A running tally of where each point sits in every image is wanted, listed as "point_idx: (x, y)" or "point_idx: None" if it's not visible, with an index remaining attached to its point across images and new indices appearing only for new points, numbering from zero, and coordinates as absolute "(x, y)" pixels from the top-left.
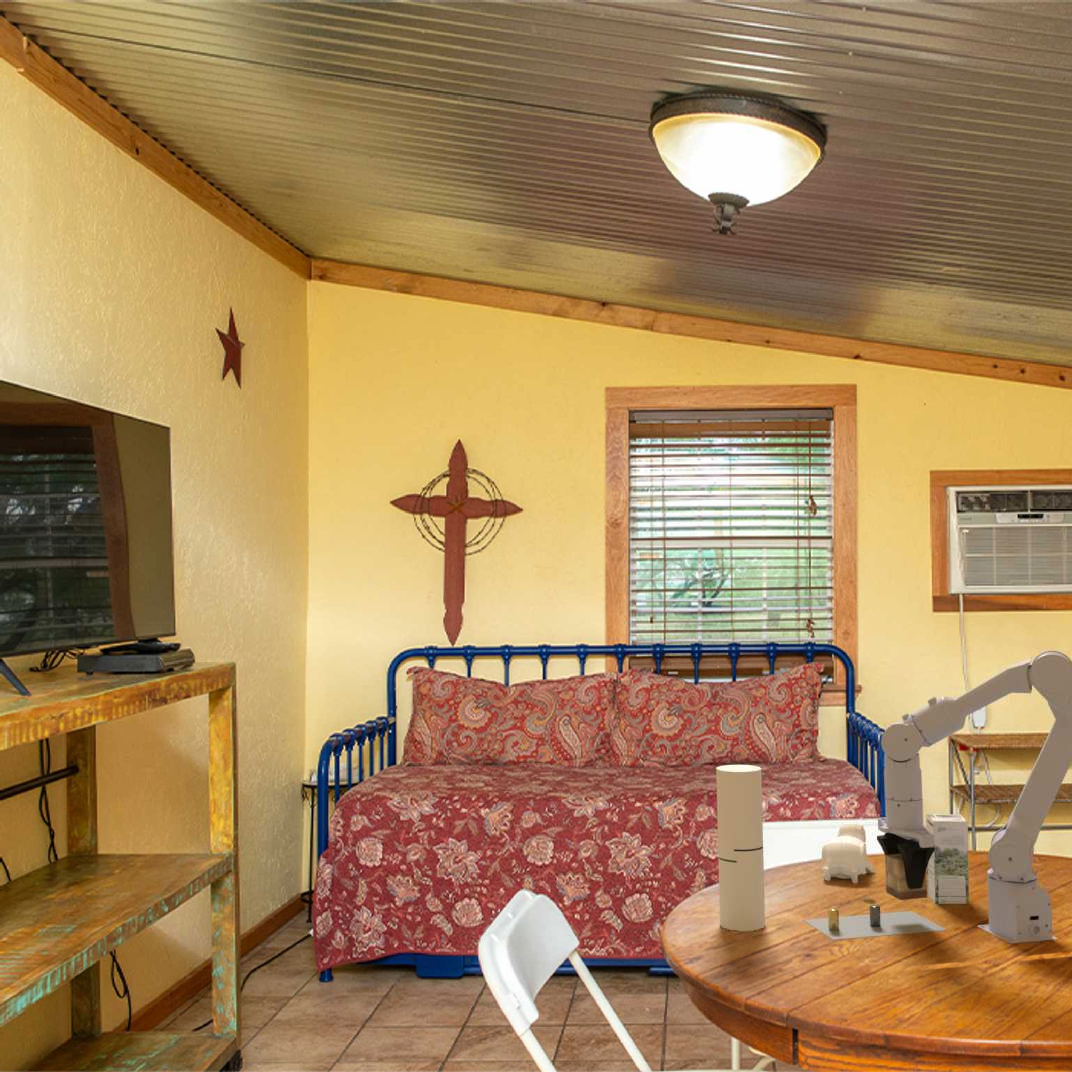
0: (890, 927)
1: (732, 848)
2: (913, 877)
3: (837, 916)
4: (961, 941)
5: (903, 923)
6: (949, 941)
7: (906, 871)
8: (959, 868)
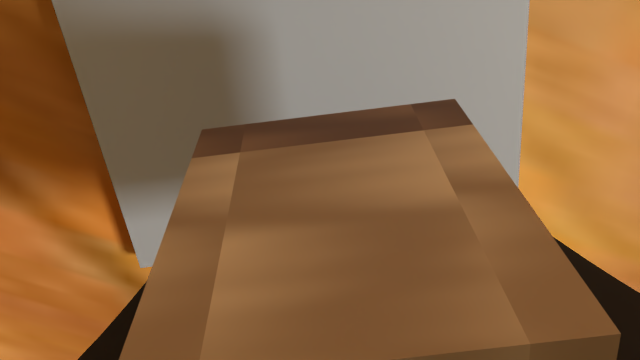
0: None
1: None
2: None
3: None
4: (18, 271)
5: (282, 95)
6: (12, 222)
7: (115, 351)
8: None
